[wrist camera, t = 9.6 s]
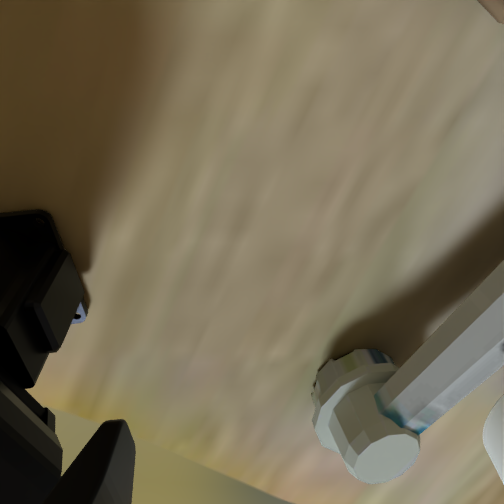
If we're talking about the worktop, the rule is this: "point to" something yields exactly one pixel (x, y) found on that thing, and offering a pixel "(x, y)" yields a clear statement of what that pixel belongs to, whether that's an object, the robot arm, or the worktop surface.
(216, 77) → the worktop surface
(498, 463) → the canister
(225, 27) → the worktop surface
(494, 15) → the block with rectangular hole
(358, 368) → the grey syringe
